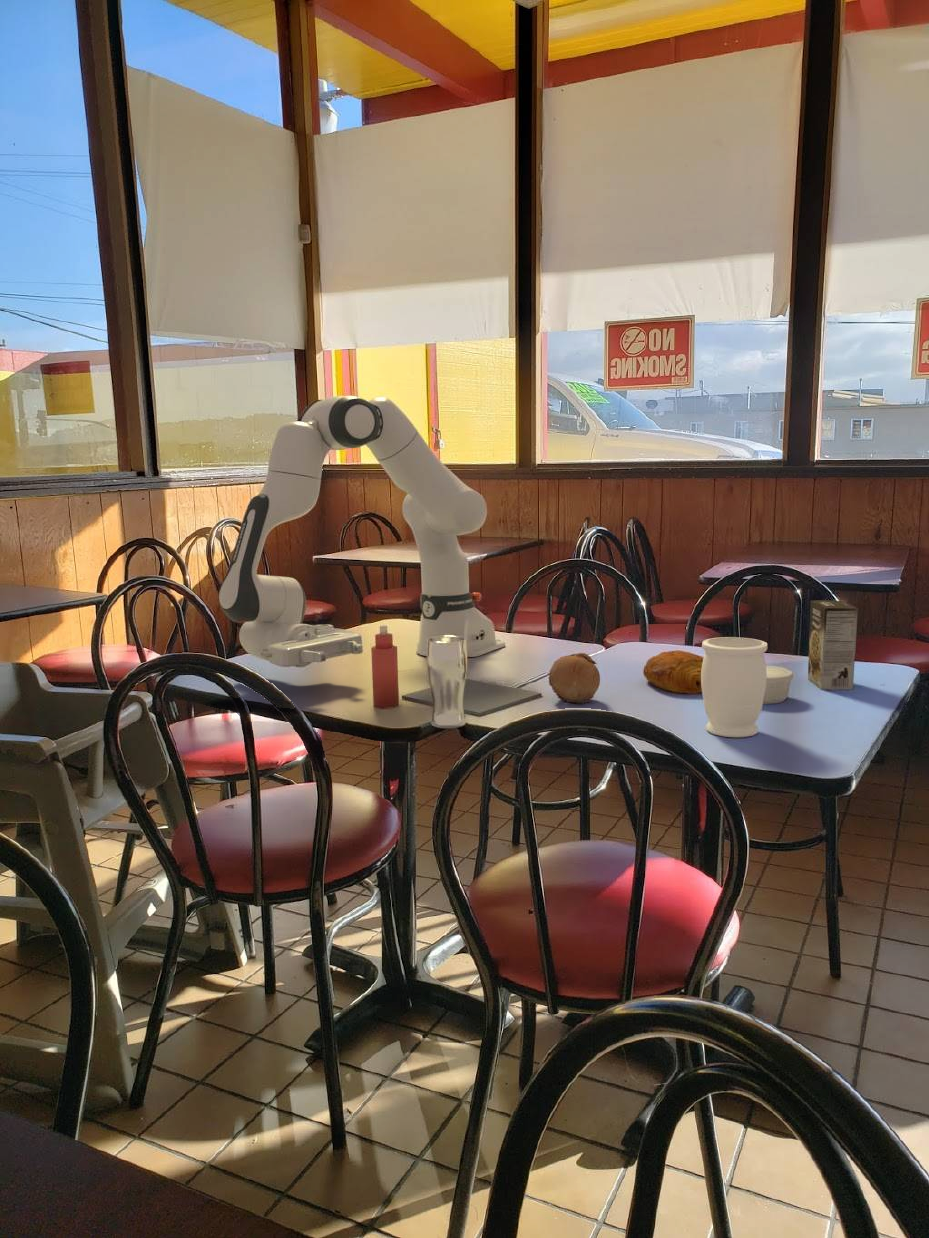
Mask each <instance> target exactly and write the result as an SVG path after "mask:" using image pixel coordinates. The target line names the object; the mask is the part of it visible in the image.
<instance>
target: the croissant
mask: <svg viewBox="0 0 929 1238" xmlns="http://www.w3.org/2000/svg"><path fill="white" fill-rule="evenodd" d="M703 658H704V656H702V655H698V654H695V653H691V652H690V651H684V650H677V649H676V650H669V651H662V652H660V653H659V654H657V655H652V657H650V658H649V659H648V660H647V661H646V664H645V665H644V667H643V671H642V672H643V676H644V677H645V678H646V681H648V682H649V683H651V684H653V685H654V686H656V687H658V688H660V689H662V690H665V691H670V692H672V693H676V694H677V693H678V694H694V695H696V694H698V693H702V687H701V669H702V662H703Z"/></svg>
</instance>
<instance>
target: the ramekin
mask: <svg viewBox="0 0 929 1238" xmlns="http://www.w3.org/2000/svg"><path fill="white" fill-rule="evenodd" d="M766 672H767V681H766V689H765V694H764V698H763V705H768V704H770V705H771V704H779V703H782V702H785V701H786V699H787V698H788V696H789V692H790V687H791V684H792V683H791V682H792V680H793V678H794V673H793V671H792V670H789V669H788V668H785V667H783V666H782V667H781V666H776V665H767V664H766Z"/></svg>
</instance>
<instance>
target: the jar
mask: <svg viewBox="0 0 929 1238" xmlns="http://www.w3.org/2000/svg"><path fill="white" fill-rule="evenodd" d="M701 643H702V644H701V648H702V649H703V650H704V656H703V657H704V658H703V662H702V669H701V687H702V692H701V694H702V700H703V707H704V710H705V714H706V716H707V718H708V719H709V720H708V723H706V727H705V728H706V731H707V732H709V733H711V734H713V735H716V736H720V737H724V738H725V737H726V738H749V737H752V736H755V735H756V734H757V733H758V732H759V728H758V726H757V723H756V722H757V721H758V719H759V717H760V714H761V712H762V708H763V705H764V704H763V698H764V694H765V689H766V681H767V672H766V665H767V663H766V659H765V655H764V653H765V652H767V651H768V643H767V642H766V641H764V640H760V639H755V638H751V637H750V638H749V637H740V636H739V637H738V636H737V637H736V636H725V637H724V636H721V637H720V636H719V637H713V638H711V637H710V638H707V639H704V640H702V642H701Z"/></svg>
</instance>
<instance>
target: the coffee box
mask: <svg viewBox="0 0 929 1238" xmlns="http://www.w3.org/2000/svg"><path fill="white" fill-rule="evenodd" d="M809 611H810V615H809V636H808V637H809V641H808V661H807V662H808V665H807V666H808V667H807V668H808V669H807V680H808V681H811V683H813V684H814V685H815V686H816V687H817V688H819V689H820V690H825V691H829V690H831V691H832V690H835V691H837V690H846V691H847V690H849V691H850V690H851V691H853V690H854V677H855V676H854V675H855V658H856V644H857V643H856V642H857V627H858V626H857V624H858V608H857V607H856V606H854V605H852V604H850V603H848V602H845V601H843V600H826V599H823V600H822V599H821V600H819V599H818V600H810V609H809Z"/></svg>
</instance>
